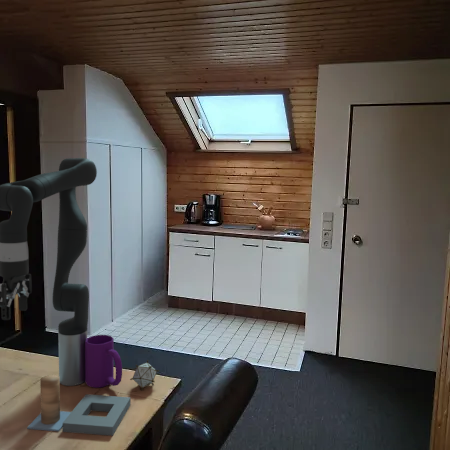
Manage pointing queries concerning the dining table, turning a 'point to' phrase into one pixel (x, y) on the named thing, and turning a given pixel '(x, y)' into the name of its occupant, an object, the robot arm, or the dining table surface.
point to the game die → (144, 375)
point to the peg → (50, 399)
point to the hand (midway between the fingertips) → (15, 314)
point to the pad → (50, 427)
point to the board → (96, 424)
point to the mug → (101, 362)
